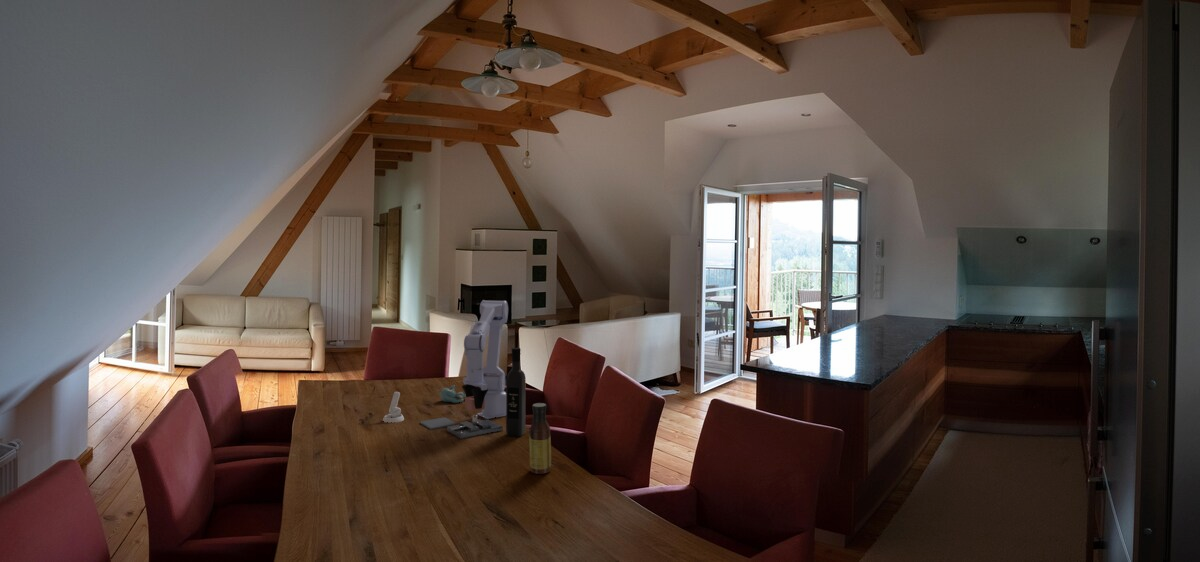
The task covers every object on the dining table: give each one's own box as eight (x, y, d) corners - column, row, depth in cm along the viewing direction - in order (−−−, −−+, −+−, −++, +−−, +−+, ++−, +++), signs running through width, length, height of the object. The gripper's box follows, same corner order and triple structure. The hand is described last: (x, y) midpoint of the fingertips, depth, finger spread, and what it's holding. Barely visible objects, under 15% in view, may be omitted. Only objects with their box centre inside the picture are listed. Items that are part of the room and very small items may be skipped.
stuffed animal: (473, 389, 265) (444, 386, 260) (470, 406, 265) (441, 404, 260) (467, 384, 275) (439, 381, 270) (464, 400, 275) (436, 398, 270)
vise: (487, 423, 235) (487, 408, 235) (502, 430, 227) (502, 415, 226) (444, 431, 225) (444, 415, 225) (458, 439, 217) (458, 423, 216)
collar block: (477, 406, 229) (477, 395, 229) (484, 409, 225) (484, 397, 225) (465, 408, 226) (465, 397, 226) (471, 411, 222) (471, 400, 222)
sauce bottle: (540, 465, 192) (540, 400, 191) (555, 470, 188) (556, 403, 187) (524, 471, 187) (524, 404, 186) (539, 477, 183) (540, 408, 182)
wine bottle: (520, 437, 219) (521, 350, 218) (505, 436, 221) (505, 349, 219) (526, 432, 225) (526, 347, 223) (510, 431, 226) (511, 346, 224)
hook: (409, 400, 247) (410, 393, 242) (401, 430, 241) (402, 424, 235) (389, 396, 246) (389, 390, 240) (381, 426, 239) (381, 420, 234)
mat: (445, 418, 241) (445, 417, 241) (457, 425, 233) (457, 423, 233) (419, 423, 235) (419, 421, 235) (430, 429, 227) (430, 428, 227)
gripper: (455, 366, 228) (455, 403, 229) (474, 373, 217) (474, 412, 218) (473, 364, 232) (473, 401, 233) (492, 370, 221) (492, 409, 222)
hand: (474, 406), depth 226 cm, fingers closed on collar block, 5 cm apart
